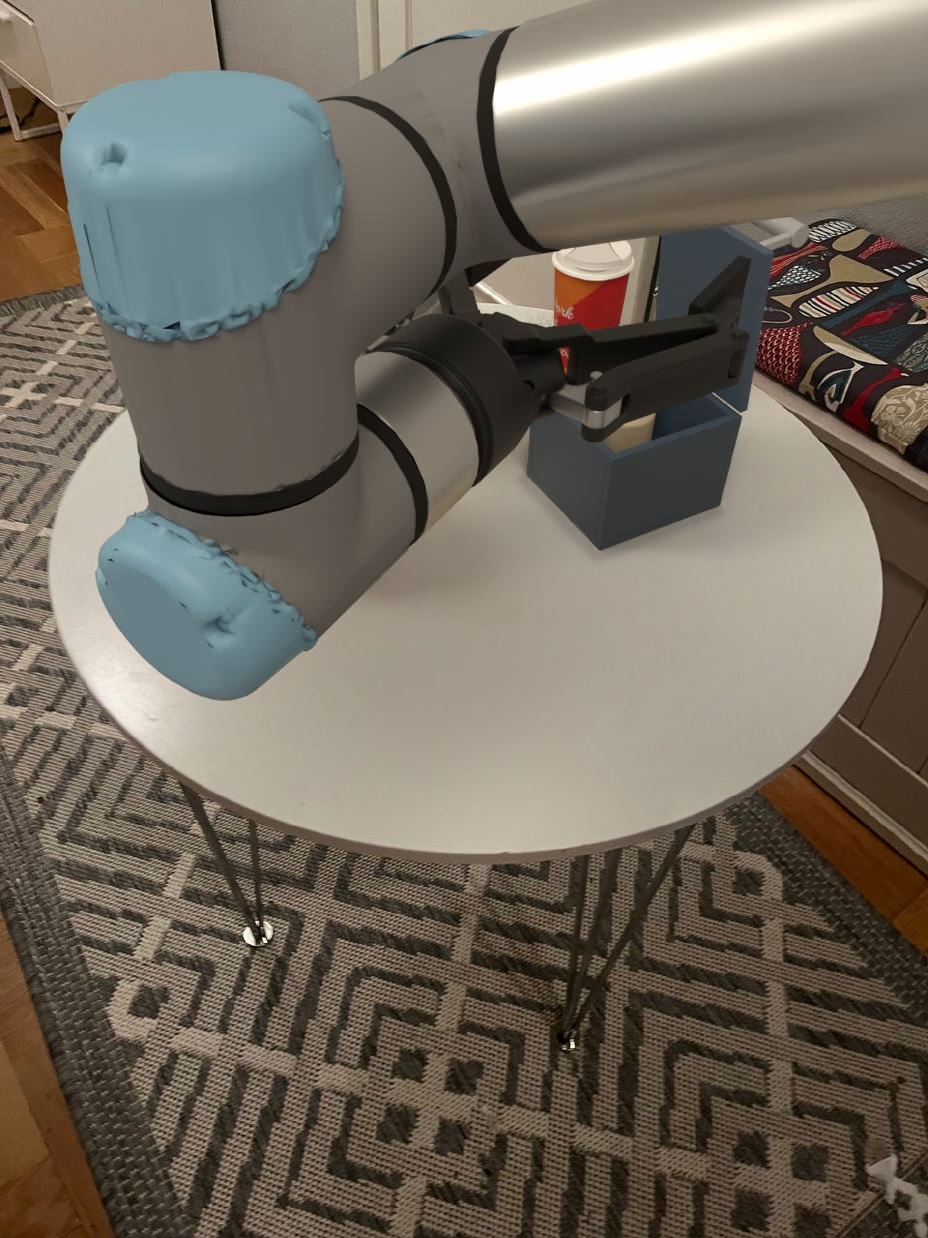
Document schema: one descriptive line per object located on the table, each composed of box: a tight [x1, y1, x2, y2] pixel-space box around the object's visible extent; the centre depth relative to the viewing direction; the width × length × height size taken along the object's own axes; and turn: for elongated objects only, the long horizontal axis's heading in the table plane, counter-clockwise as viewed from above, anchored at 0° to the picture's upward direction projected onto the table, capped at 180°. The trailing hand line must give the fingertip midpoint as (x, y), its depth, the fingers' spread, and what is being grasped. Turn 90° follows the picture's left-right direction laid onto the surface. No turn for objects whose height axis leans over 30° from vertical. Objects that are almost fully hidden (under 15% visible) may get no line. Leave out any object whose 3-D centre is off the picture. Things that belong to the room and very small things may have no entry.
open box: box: [526, 393, 743, 551], centre depth 87 cm, size 14×13×10 cm
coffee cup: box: [551, 240, 636, 375], centre depth 99 cm, size 8×8×15 cm
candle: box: [602, 413, 656, 453], centre depth 86 cm, size 6×6×10 cm
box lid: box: [654, 216, 811, 414], centre depth 81 cm, size 14×13×8 cm
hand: (627, 249), depth 55 cm, fingers open, 13 cm apart
